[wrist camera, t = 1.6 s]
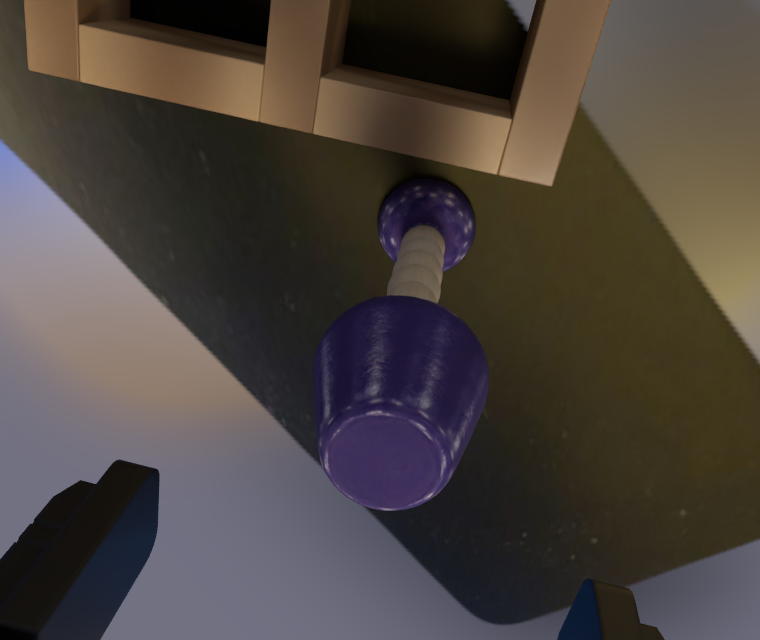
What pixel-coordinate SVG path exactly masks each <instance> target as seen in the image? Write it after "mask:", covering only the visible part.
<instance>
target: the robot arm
mask: <svg viewBox="0 0 760 640" xmlns="http://www.w3.org/2000/svg"><path fill="white" fill-rule="evenodd" d="M158 502H159V471H158V470H157V469H155V468H151V467H147V466H143V465H139V464H135V463H131V462H126V461H123V460H116V461H115V462H114V463H113V464H112V465H111V466H110V467H109V468H108V470H107V471H106V472H105V474H104V475H103V476H102V477H101V479H100V480H99V481H98V482H97V484H93V483H89V482H85V481H81V480H80V481H78V482H77V483H75V484H74V485H72V486H70V487H69V488H67V489H65V490H64V491H62V492H61V493H59V494H57V495H55V496H54V497H53V498H52V499H51V500H50V501H49V503H48V504H47V505H46V506H45V507H44V508H43V510H42V511H41V512H40V513H39V514H38V515H37V517H36V518H35V519H34V522H33V524H30V525H29V526H28V527H27V528H26V530H25V531H24V532H23V533H22V534H21V535H20V537H19V539H18V541H17V543H16V542H15V543H14V544H13V545H12V546H11V547H10V549H9V550H8V551H7V552H6V553H5V554H4V556H3V557H2V558H1V559H0V640H100V639H101V637H102V636H103V634H104V632H105V631H106V629H107V627H108V626H109V624H110V622H111V621H112V619H113V617H114V616H115V614H116V612H117V611H118V609H119V607H120V606H121V604H122V602H123V600H124V599H125V597H126V595H127V594H128V592H129V590H130V589H131V587H132V585H133V584H134V582H135V580H136V578H137V577H138V575H139V573H140V572H141V570H142V568H143V567H144V565H145V563H146V561H147V560H148V558H149V556H150V553H151V551H152V548H153V545H154V542H155V538H156V534H157V527H158V504H159V503H158ZM557 640H664V638H663V636H662V635H661V633H660V632H659V631H658V629H657V627H653V626H649V625H645V624H641V623H640V620H639V616H638V612H637V607H636V603H635V599H634V595H633V593H632V591H631V590H630V589H628V588H624V587H620V586H616V585H612V584H608V583H604V582H600V581H596V580H592V579H586V580H585V581H584V582H583V584H582V586H581V588H580V590H579V592H578V594H577V596H576V598H575V600H574V602H573V605H572V607H571V609H570V611H569V613H568V615H567V617H566V620H565V621H564V624H563V626H562V628H561V630H560V632H559V635H558V639H557Z"/></svg>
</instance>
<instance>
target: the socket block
mask: <svg viewBox="0 0 760 640" xmlns="http://www.w3.org/2000/svg"><path fill="white" fill-rule="evenodd" d="M610 3H611V0H537V1H536V4H535V8H534V12H533V15H532V19H531V23H530V26H529V30H528V34H527V38H526V41H525V45H524V49H523V53H522V56H521V60H520V64H519V67H518V71H517V75H516V79H515V82H514V86H513V90H512V94H511V97H510V101H509V100H506V99H501V98H497V97H492V96H487V95H483V94H478V93H474V92H469V91H465V90H460V89H455V88H451V87H446V86H442V85H437V84H433V83H428V82H423V81H419V80H414V79H410V78H405V77H400V76H396V75H391V74H387V73H382V72H378V71H373V70H368V69H364V68H359V67H355V66H350V65H345V64H342V61H343V54H344V47H345V41H346V34H347V27H348V20H349V14H350V7H351V0H271V5H270V15H269V26H268V36H267V46H266V47H263V46H258V45H254V44H249V43H244V42H240V41H235V40H231V39H226V38H222V37H217V36H212V35H208V34H203V33H199V32H194V31H189V30H185V29H180V28H176V27H171V26H167V25H162V24H157V23H153V22H148V21H144V20H139V19H135V18H130V0H24V9H25V25H26V41H27V57H28V69H29V70H30V71H34V72H39V73H43V74H48V75H52V76H57V77H61V78H65V79H70V80H74V81H81V82H83V83H88V84H92V85H97V86H101V87H106V88H110V89H115V90H119V91H124V92H128V93H133V94H137V95H142V96H146V97H150V98H155V99H159V100H164V101H168V102H173V103H177V104H182V105H186V106H191V107H195V108H200V109H204V110H209V111H213V112H218V113H222V114H227V115H231V116H236V117H240V118H245V119H249V120H254V121H260V122H262V123H266V124H271V125H275V126H280V127H284V128H289V129H293V130H298V131H302V132H307V133H313V134H316V135H320V136H325V137H329V138H334V139H338V140H343V141H347V142H352V143H356V144H361V145H365V146H370V147H374V148H379V149H383V150H387V151H392V152H396V153H401V154H405V155H410V156H414V157H419V158H423V159H428V160H432V161H437V162H441V163H446V164H450V165H455V166H459V167H464V168H468V169H473V170H477V171H482V172H486V173H491V174H495V175H496V174H498V175H500V176H504V177H509V178H513V179H518V180H522V181H527V182H531V183H536V184H540V185H545V186H549V187H551V186H553V183H554V180H555V177H556V174H557V171H558V168H559V164H560V161H561V158H562V155H563V152H564V149H565V145H566V142H567V139H568V136H569V133H570V130H571V126H572V123H573V120H574V117H575V114H576V111H577V107H578V104H579V101H580V98H581V95H582V91H583V88H584V85H585V82H586V79H587V76H588V73H589V70H590V66H591V63H592V60H593V57H594V54H595V50H596V47H597V44H598V41H599V38H600V35H601V32H602V28H603V25H604V22H605V19H606V16H607V13H608V9H609V6H610Z"/></svg>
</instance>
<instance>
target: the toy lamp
mask: <svg viewBox="0 0 760 640" xmlns="http://www.w3.org/2000/svg"><path fill="white" fill-rule="evenodd" d="M475 231H476V222H475V216H474V213H473V210H472V207H471V205H470V203H469V201H468V200H467V198H466V197H465V196H464V195H463V194H462V193H461V192H460V191H459V190H458V189H457V188H455V187H454V186H452V185H450V184H448V183H446V182H444V181H441V180H435V179H427V178H425V179H417V180H413V181H410V182H408V183H405V184H403V185H401V186H399V187H398V188H397V189H396V190H394V191H393V192H392V193H391V194H390V195H389V197H388V198H387V199H386V200H385V202H384V204H383V206H382V208H381V211H380V214H379V219H378V234H379V238H380V241H381V244H382V246H383V249H384V251H385V252H386V254H387V255H388V257H389V258H390V259H391V260H392V261H393V262H394V263H395V265H394V268H393V273H392V277H391V279H390V281H389V284H388V290H387V296H383V297H374V298H372V299H369V300H366V301H363V302H361V303H359V304H357V305H355V306H353V307H352V308H350V309H348V310H347V311H345V312H344V313H343V314H342V315H340V316H339V317H338V318H337V319H336V320H335V321H334V322H333V323H332V324H331V325H330V327H329V328H328V329H327V330H326V332H325V334H324V335H323V337H322V339H321V341H320V343H319V345H318V348H317V351H316V354H315V359H314V367H313V393H314V406H315V421H316V435H317V445H318V451H319V455H320V459H321V464H322V466H323V469H324V471H325V473H326V475H327V476H328V478H329V479H330V481H331V482H332V483H333V485H334V486H335V487H336V488H337V489H338V490H339V491H340V492H341V493H343V494H344V495H345V496H347V497H348V498H349V499H351V500H353V501H354V502H356V503H358V504H361V505H364V506H367V507H369V508H373V509H378V510H384V511H393V510H404V509H409V508H412V507H416V506H419V505H421V504H423V503H425V502H426V501H428V500H430V499H432V498H433V497H434V496H435V495H436V494H438V493H439V492H440V491H441V490H442V489H443V488H444V487H445V485H446V484H447V483H448V481H449V480H450V478H451V476H452V474H453V473H454V471H455V469H456V467H457V465H458V463H459V461H460V459H461V457H462V455H463V453H464V450H465V448H466V446H467V444H468V442H469V440H470V438H471V435H472V433H473V431H474V429H475V426H476V424H477V422H478V420H479V418H480V416H481V413H482V411H483V408H484V406H485V402H486V399H487V395H488V389H489V372H488V365H487V361H486V357H485V353H484V350H483V349H482V347H481V344H480V342H479V341H478V339H477V337H476V335H475V334H474V333H473V332H472V330H471V329H470V328H469V327H468V325H467V324H466V323H465V322H464V321H463V320H462V319H461V318H460V317H459V316H457V315H455V314H453V313H452V312H450V311H449V310H448V309H447V308H445V307H443V306H441V305H439V304H438V300H439V298H440V290H441V288H440V284H441V281H442V272H444V271H446V270H448V269H450V268H452V267H454V266H455V265H456V264H458V263H459V262H460V261H461V260H462V259H463V258H464V257H465V255H466V254H467V252H468V251H469V249H470V247H471V245H472V243H473V240H474V236H475Z"/></svg>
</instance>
